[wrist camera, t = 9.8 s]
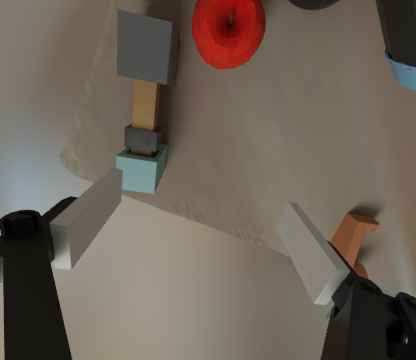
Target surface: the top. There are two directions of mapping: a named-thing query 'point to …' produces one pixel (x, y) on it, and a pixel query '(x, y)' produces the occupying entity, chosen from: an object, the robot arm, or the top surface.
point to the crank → (353, 239)
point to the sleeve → (147, 48)
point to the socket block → (141, 170)
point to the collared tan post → (144, 120)
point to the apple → (228, 31)
